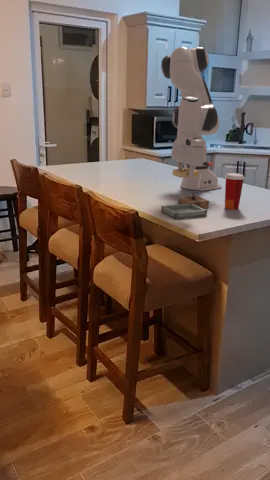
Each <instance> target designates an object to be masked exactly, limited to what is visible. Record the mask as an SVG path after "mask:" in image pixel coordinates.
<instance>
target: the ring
mask: <svg viewBox="0 0 270 480" xmlns="http://www.w3.org/2000/svg"><path fill="white" fill-rule="evenodd" d="M189 170H190V169H184V168H183V169H176V168H175V169H172V176H174V177H177V178H180V179H183V177H198V173H199V171H197V170H194V172H193V176H188V171H189Z"/></svg>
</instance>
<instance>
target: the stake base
mask: <svg viewBox="0 0 270 480" xmlns="http://www.w3.org/2000/svg"><path fill="white" fill-rule="evenodd" d="M179 204H194V205H196V206H198V207H201V208H203V209H205V208H206V209H207V208H209V207H210V205H209V204H210V200H208V199H205V198H203V197H201V196H197V195H195V199H194V200H193V199H192V195H191V196H181V197H179V196H178V198H177V205H179Z"/></svg>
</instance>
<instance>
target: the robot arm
mask: <svg viewBox="0 0 270 480" xmlns="http://www.w3.org/2000/svg"><path fill="white" fill-rule="evenodd" d="M209 60H210V58H209V54H208V52H207V51H206V48H205V47H203V46H202V47H201V46H197V47H195V48H187V47H185V46H181V47H177V48H175V49H174V50H173V51H172V52H171V54H167V55H166V56H164V57H163V58H162V59H161V64H160V69H161V72H162V74H163V76H164V78H166V79H169V80H170V81H171V84H172V85H173V86H174V88H176V89H177V90H179V91H180V96H181V99H180V101H179V105H177V106H176V107H175V108H174V109H172V120H171V124H172V125H173V126H174V128H175V129H177V131H176V132H177V133H176V138H175V140H174V141H173V144H172V147H171V155H170V156H171V157H170V158H171V160H172V161H175V162H176V164H177V168H178V169H190V170H189V171H188V176H193V172H194V170H197V171H199V173H198V177H183V178H181V183H180V186H179V187H180V188H182V189H184V190H185V189H186V190H191V191H202V192H204V191H210V190H216V189H217V190H218V189H222V187H223V186H222V185H221V184H219V182H218V181H219V179H218V176H217V175H216V174H215V173H214V172H213V171H212V170H211V169H210V168H209V167H212V166H213V162H211V161H207V154H208V153H207V151H208V147H207V141H206V140H205V139H204V138H203V137H202V136H209V135H211V136H212V135H215V134H216V133H217V132H218V131H219V128H220V123H221V122H220V119H219V116H218V111H217V109H216V108H215V106H214V102H213V100H212V97H211V94H210V91H209V88H208V86H207V82H206V80H205V78H203V77H202V76H201V73H203V71H205V70H206V69H207V68H208V66H209Z"/></svg>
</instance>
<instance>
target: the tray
mask: <svg viewBox="0 0 270 480" xmlns="http://www.w3.org/2000/svg"><path fill="white" fill-rule="evenodd" d="M160 208H161V212H162V213H163V214H165V215H167V216H168V217H171V218H172V219H175V220H179V219H181V220H182V219H190V218H200V217H207V216H208V210H207V209H205V208H201V207H198V206H196V205H194V204H171V205H170V204H168V205H161V207H160Z"/></svg>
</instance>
